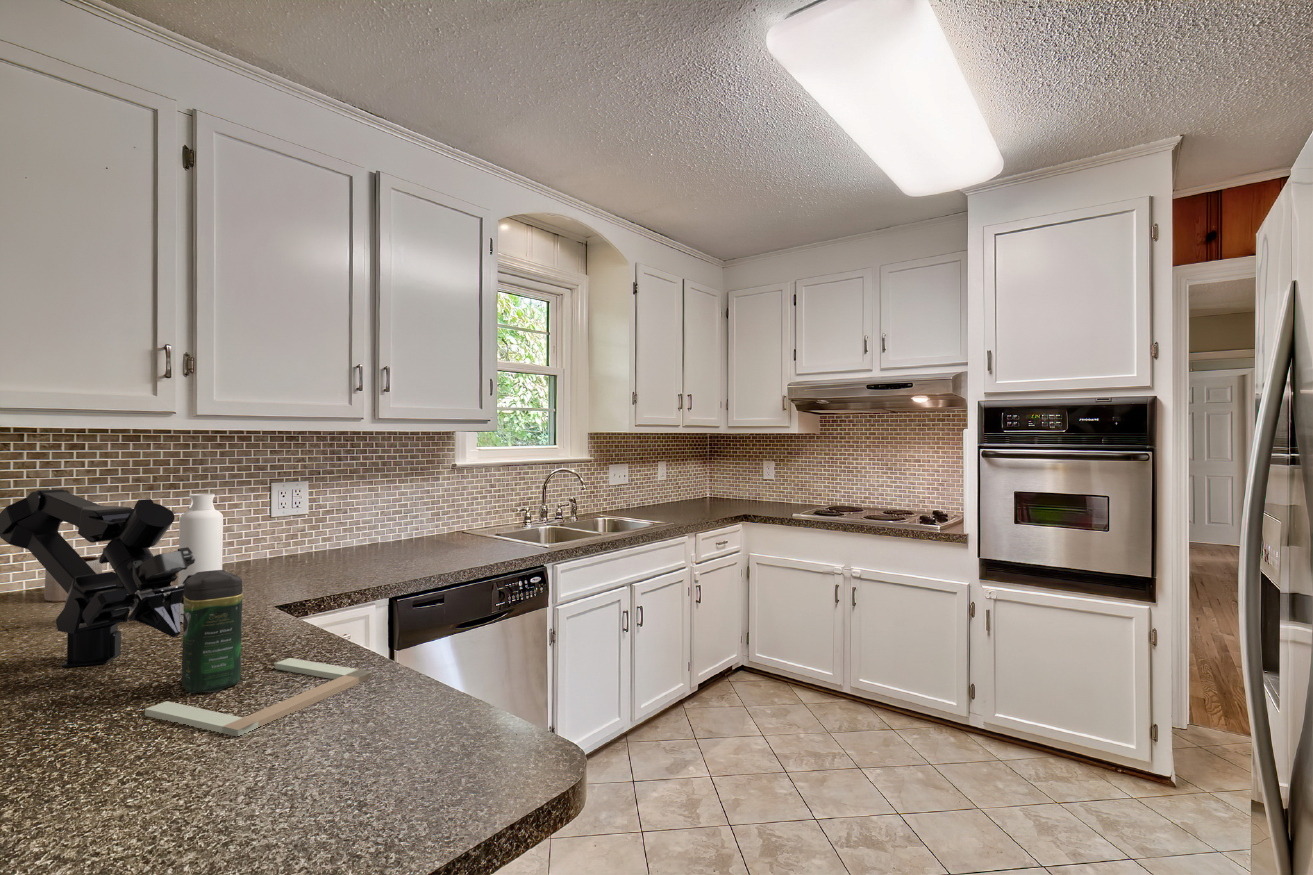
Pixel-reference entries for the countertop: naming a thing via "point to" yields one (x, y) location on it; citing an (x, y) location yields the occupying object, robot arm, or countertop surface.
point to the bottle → (201, 537)
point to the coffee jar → (212, 631)
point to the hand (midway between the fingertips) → (177, 635)
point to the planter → (53, 587)
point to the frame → (240, 725)
